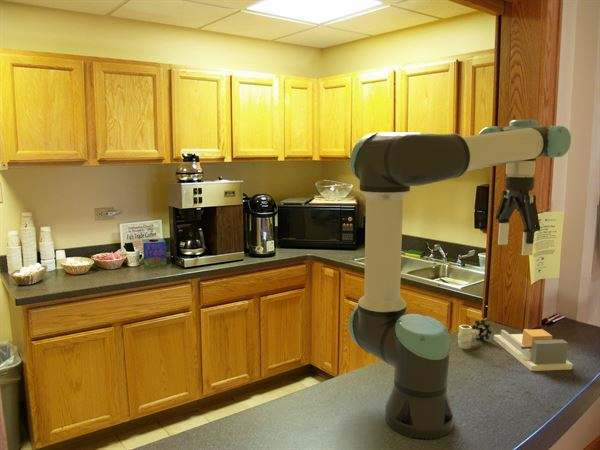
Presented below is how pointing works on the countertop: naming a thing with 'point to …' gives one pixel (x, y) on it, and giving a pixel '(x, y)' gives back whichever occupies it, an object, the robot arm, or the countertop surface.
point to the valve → (472, 333)
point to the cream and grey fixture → (536, 352)
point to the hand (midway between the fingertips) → (514, 249)
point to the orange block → (534, 337)
